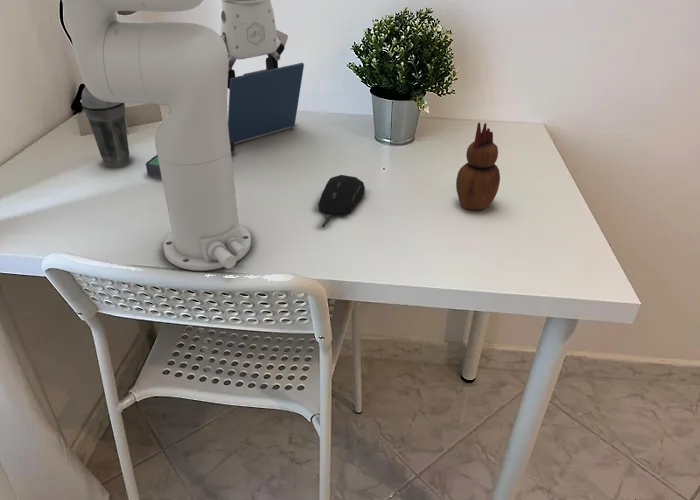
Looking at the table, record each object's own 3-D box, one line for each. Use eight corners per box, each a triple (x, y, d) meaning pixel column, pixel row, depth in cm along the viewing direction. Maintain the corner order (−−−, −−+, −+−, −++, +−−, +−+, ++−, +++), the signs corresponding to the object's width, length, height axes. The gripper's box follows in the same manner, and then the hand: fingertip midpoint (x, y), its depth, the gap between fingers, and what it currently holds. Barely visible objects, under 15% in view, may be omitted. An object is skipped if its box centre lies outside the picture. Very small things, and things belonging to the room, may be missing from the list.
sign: (304, 64, 113) (290, 50, 115) (231, 79, 105) (217, 65, 107) (294, 128, 124) (281, 114, 126) (228, 146, 116) (215, 132, 118)
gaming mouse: (304, 223, 92) (303, 201, 90) (335, 182, 104) (335, 162, 101) (342, 230, 90) (342, 208, 88) (369, 188, 102) (370, 167, 100)
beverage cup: (143, 155, 112) (122, 49, 101) (127, 172, 106) (103, 61, 95) (107, 153, 112) (81, 47, 101) (89, 170, 106) (60, 59, 95)
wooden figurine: (463, 216, 95) (475, 129, 86) (448, 199, 99) (459, 115, 91) (500, 211, 96) (516, 125, 88) (485, 194, 101) (498, 111, 92)
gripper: (211, 0, 99) (222, 98, 109) (295, -11, 108) (298, 80, 118) (191, -7, 104) (203, 87, 114) (273, -17, 113) (278, 71, 123)
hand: (252, 84), depth 116 cm, fingers open, 9 cm apart
